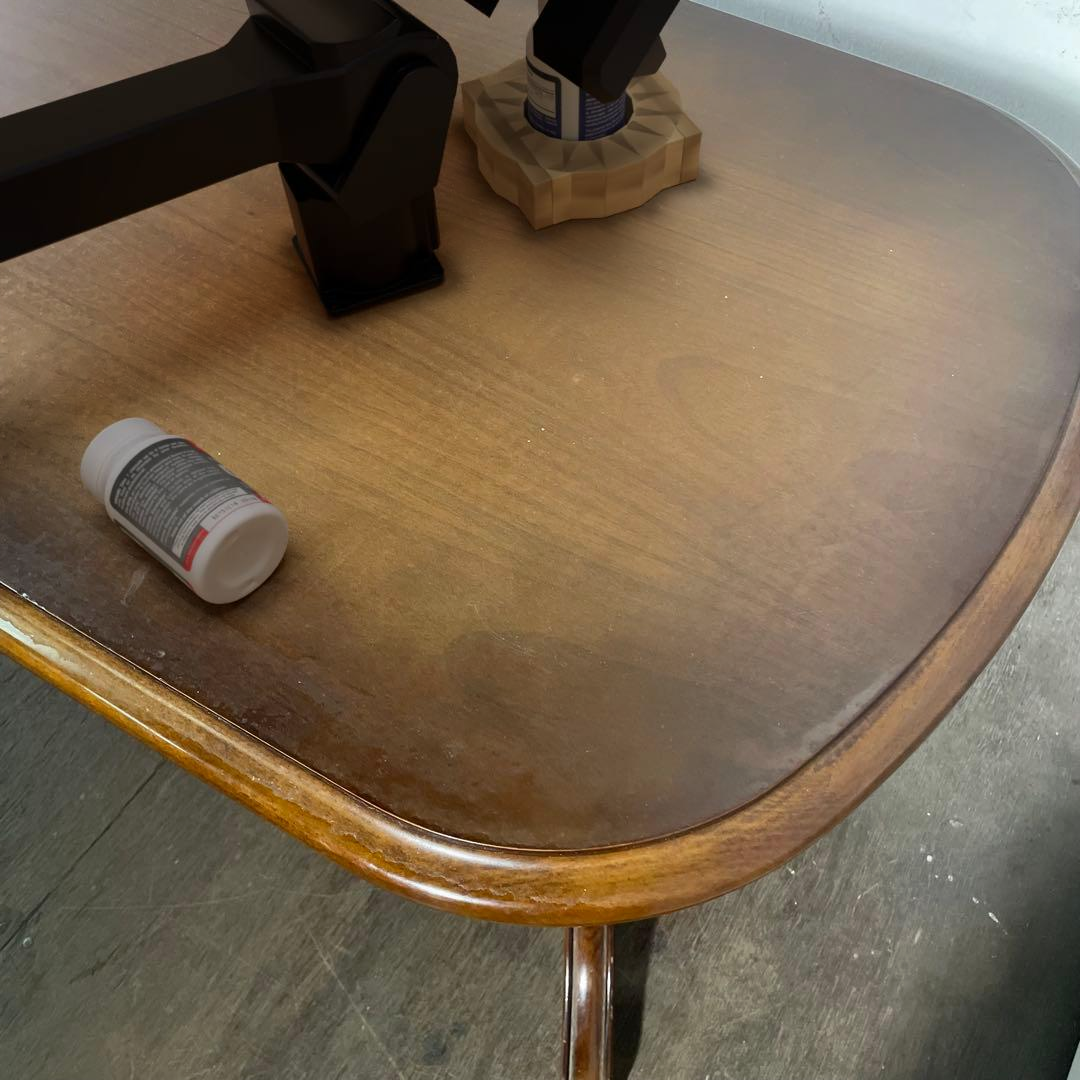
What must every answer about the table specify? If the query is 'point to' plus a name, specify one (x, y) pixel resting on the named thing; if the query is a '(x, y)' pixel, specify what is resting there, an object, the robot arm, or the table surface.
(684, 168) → the socket plate
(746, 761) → the table surface
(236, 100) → the robot arm
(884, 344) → the table surface
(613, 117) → the pill bottle
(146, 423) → the pill bottle
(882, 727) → the table surface
